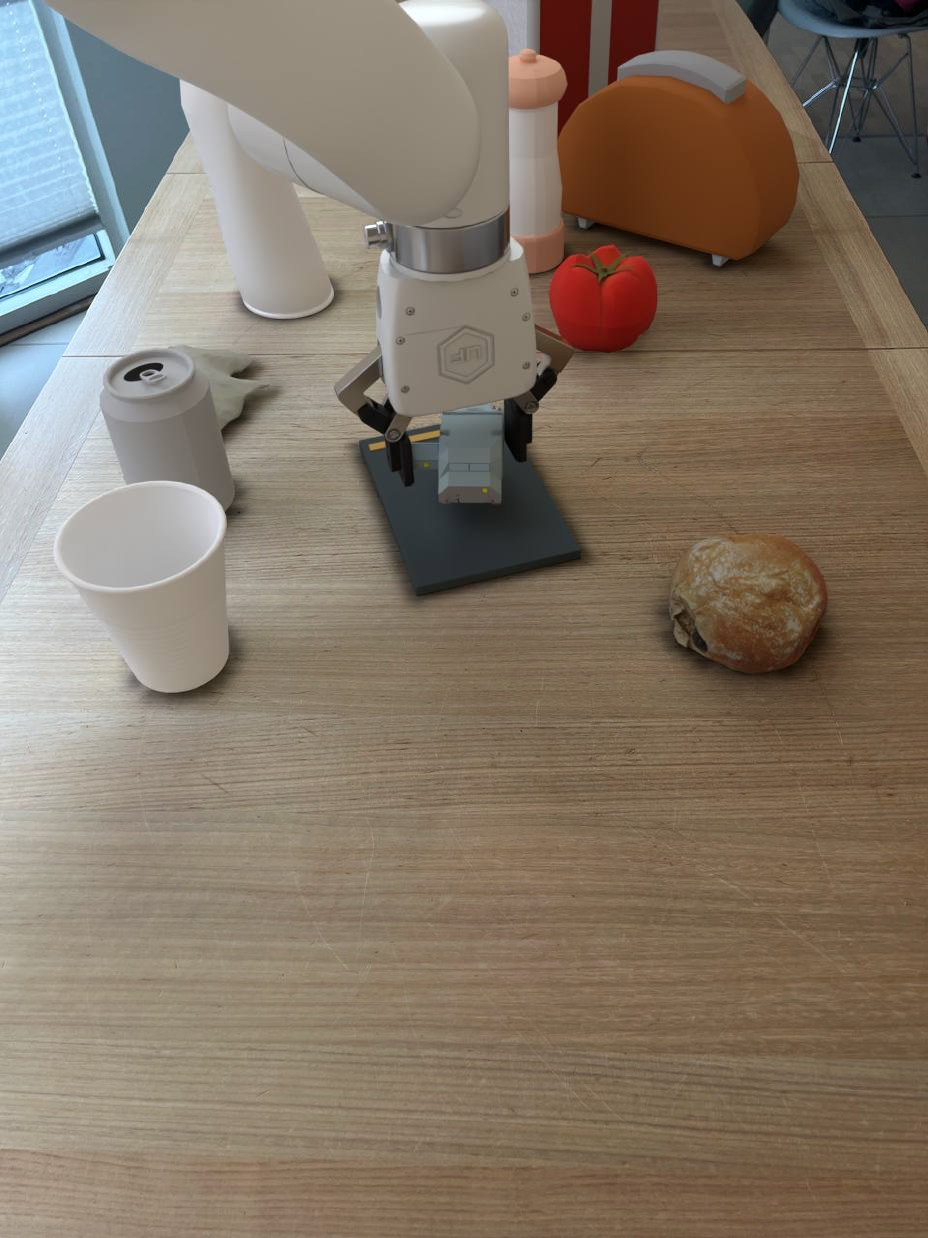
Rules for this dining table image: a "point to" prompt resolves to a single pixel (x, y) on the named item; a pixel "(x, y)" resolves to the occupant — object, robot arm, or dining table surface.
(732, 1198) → the dining table surface
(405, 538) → the mat
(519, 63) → the pepper shaker
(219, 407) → the crumpled beige cloth
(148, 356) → the can
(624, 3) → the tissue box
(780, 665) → the bread roll
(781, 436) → the dining table surface
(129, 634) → the cup
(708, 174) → the toaster
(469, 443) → the toy car
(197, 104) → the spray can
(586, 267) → the tomato
